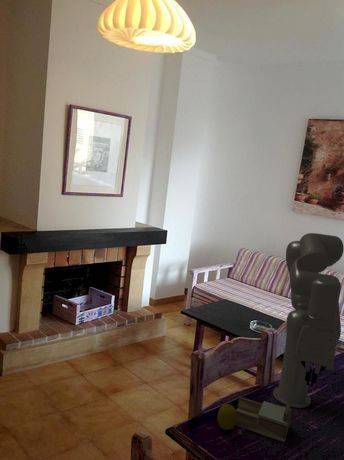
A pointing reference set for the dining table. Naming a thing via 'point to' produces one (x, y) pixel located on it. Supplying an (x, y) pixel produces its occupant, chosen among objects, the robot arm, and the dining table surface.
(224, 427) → the lemon
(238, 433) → the dining table surface
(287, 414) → the cover
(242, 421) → the beige box
